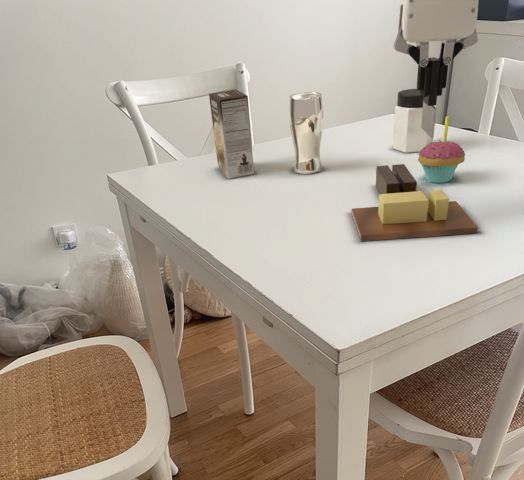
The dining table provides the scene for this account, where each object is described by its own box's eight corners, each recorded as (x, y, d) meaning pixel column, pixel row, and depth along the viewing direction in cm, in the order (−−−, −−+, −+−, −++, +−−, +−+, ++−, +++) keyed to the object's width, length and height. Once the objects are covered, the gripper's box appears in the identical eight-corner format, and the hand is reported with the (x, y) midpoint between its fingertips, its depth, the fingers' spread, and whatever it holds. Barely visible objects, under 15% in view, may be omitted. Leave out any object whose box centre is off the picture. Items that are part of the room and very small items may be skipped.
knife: (425, 127, 86) (432, 55, 81) (436, 138, 81) (444, 61, 75) (418, 127, 86) (424, 56, 81) (428, 138, 81) (435, 62, 75)
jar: (428, 142, 128) (433, 87, 122) (435, 151, 122) (441, 93, 115) (390, 144, 129) (393, 90, 122) (395, 153, 123) (399, 96, 116)
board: (455, 206, 93) (456, 200, 93) (477, 233, 84) (478, 227, 83) (351, 213, 94) (351, 208, 94) (360, 241, 85) (360, 235, 84)
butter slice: (439, 210, 90) (441, 189, 88) (446, 220, 86) (449, 198, 84) (427, 211, 90) (429, 190, 88) (434, 220, 86) (436, 199, 84)
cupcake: (422, 171, 111) (427, 108, 104) (465, 174, 107) (474, 109, 100) (412, 184, 104) (417, 119, 98) (457, 188, 101) (466, 120, 94)
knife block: (402, 184, 105) (403, 163, 103) (415, 204, 96) (416, 181, 94) (375, 186, 105) (376, 166, 103) (385, 206, 96) (386, 184, 94)
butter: (420, 211, 90) (421, 190, 88) (426, 221, 86) (428, 200, 84) (378, 214, 91) (379, 194, 89) (382, 224, 87) (383, 203, 85)
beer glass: (322, 174, 114) (321, 97, 106) (290, 175, 116) (286, 99, 107) (325, 164, 120) (324, 91, 111) (294, 165, 121) (290, 93, 113)
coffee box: (217, 168, 124) (207, 92, 115) (243, 164, 125) (236, 88, 116) (228, 179, 117) (218, 99, 108) (255, 174, 118) (249, 94, 109)
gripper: (495, -64, 73) (475, 86, 83) (379, -52, 74) (374, 94, 84) (515, -67, 66) (491, 95, 77) (389, -55, 67) (382, 104, 78)
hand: (430, 94), depth 80 cm, fingers closed on knife, 1 cm apart
